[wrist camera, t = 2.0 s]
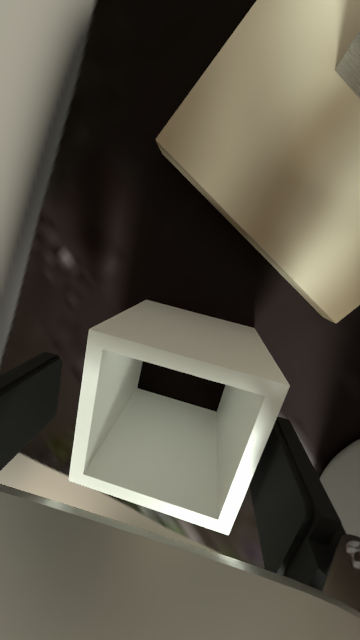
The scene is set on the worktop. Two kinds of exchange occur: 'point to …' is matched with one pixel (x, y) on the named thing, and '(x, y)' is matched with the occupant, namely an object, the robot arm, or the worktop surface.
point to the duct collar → (175, 414)
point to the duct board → (282, 144)
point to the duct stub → (351, 66)
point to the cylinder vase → (345, 486)
